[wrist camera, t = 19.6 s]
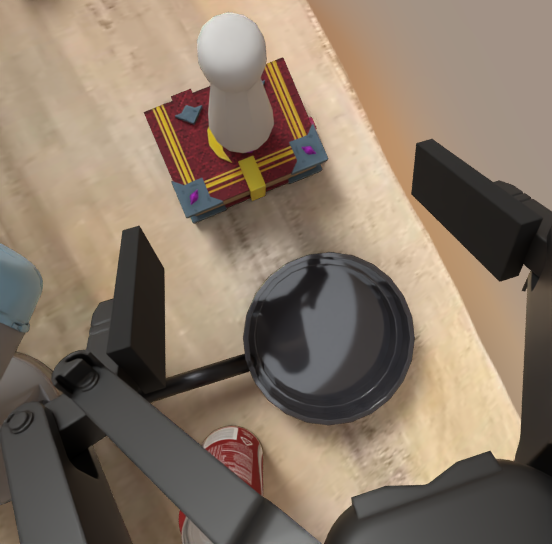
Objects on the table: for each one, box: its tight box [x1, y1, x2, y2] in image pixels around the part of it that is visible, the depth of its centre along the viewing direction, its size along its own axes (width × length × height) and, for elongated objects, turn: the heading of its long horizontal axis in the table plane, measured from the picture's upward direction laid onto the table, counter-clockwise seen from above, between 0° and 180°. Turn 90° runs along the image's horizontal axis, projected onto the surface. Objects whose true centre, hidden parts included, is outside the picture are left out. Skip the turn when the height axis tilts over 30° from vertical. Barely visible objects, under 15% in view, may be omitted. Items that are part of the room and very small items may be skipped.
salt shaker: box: [197, 12, 274, 153], centre depth 27 cm, size 6×6×13 cm
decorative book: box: [144, 58, 328, 223], centre depth 36 cm, size 11×16×5 cm
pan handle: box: [138, 354, 257, 403], centre depth 35 cm, size 13×2×2 cm, turn 107°
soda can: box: [179, 426, 263, 544], centre depth 32 cm, size 7×7×12 cm
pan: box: [243, 252, 415, 425], centre depth 37 cm, size 17×17×4 cm
